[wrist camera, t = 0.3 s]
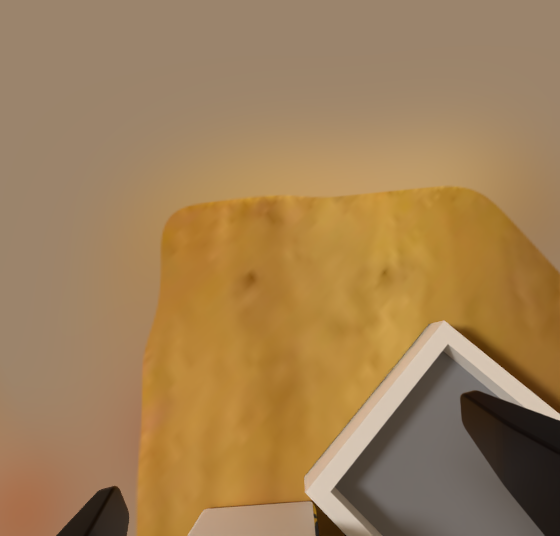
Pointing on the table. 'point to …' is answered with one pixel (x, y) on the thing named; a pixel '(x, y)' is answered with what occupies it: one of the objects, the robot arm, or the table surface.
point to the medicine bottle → (259, 520)
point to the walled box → (423, 450)
